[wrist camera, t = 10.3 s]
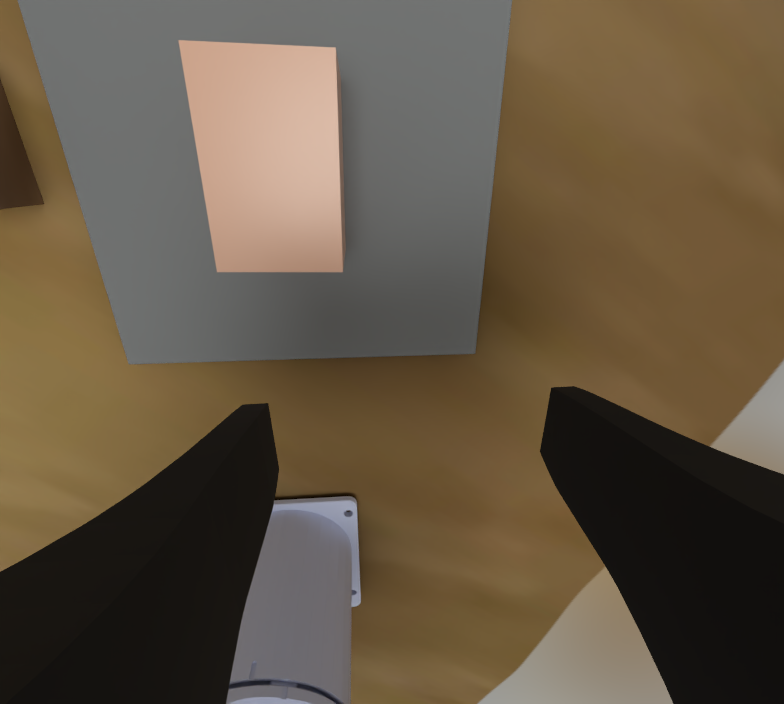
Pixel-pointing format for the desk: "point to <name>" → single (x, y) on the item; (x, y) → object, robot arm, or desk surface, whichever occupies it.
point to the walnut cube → (14, 163)
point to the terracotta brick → (269, 153)
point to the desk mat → (360, 167)
